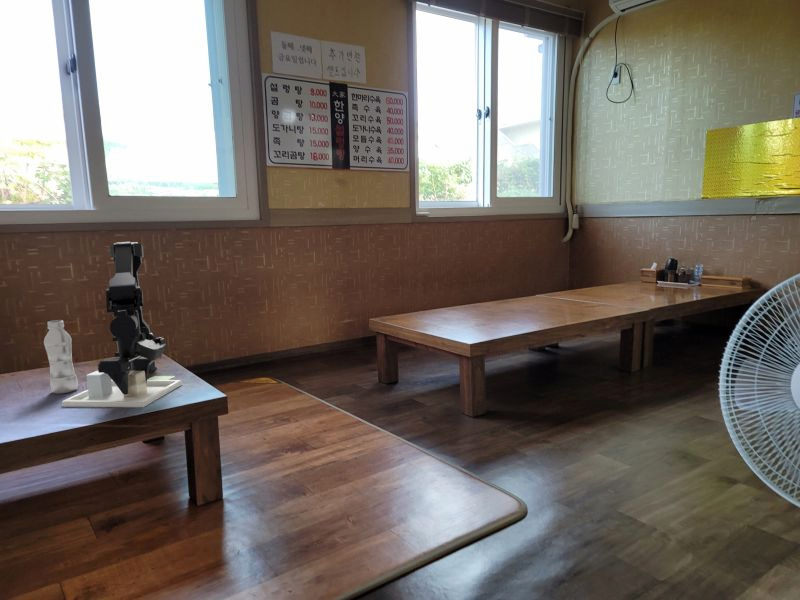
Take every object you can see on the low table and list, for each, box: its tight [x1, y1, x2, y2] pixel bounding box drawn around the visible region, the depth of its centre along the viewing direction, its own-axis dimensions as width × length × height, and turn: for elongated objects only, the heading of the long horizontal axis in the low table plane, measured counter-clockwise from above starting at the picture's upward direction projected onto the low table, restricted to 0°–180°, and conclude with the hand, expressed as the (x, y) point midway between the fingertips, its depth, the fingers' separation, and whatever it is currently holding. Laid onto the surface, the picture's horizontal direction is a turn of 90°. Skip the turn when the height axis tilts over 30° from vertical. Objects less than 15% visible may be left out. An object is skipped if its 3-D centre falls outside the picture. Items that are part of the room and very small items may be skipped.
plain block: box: [85, 370, 113, 397], centre depth 146 cm, size 4×4×6 cm
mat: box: [147, 375, 176, 380], centre depth 159 cm, size 7×6×1 cm
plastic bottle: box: [43, 319, 79, 395], centre depth 150 cm, size 6×7×20 cm
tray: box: [61, 379, 183, 408], centre depth 145 cm, size 22×18×2 cm
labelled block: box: [124, 371, 147, 398], centre depth 145 cm, size 4×4×6 cm
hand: (135, 389), depth 145 cm, fingers open, 8 cm apart
